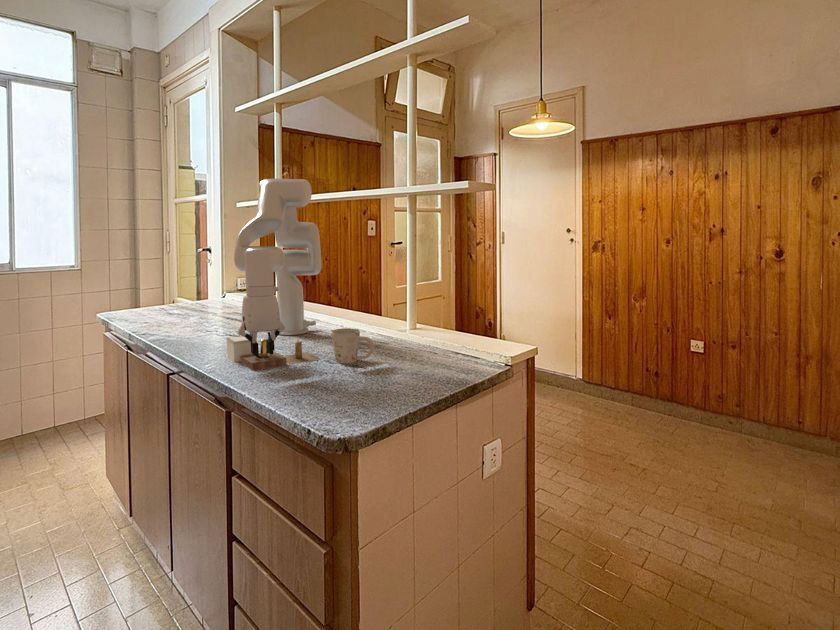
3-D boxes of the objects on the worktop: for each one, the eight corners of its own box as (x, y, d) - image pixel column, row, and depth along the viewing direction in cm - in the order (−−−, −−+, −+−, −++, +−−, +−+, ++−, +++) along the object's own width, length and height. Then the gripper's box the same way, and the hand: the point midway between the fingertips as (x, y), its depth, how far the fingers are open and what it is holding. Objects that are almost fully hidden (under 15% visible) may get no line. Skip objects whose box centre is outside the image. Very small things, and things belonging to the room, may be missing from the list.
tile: (307, 355, 164) (306, 337, 163) (321, 362, 156) (320, 342, 155) (276, 360, 158) (275, 341, 157) (290, 367, 150) (289, 347, 149)
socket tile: (273, 360, 157) (273, 351, 157) (286, 367, 149) (286, 357, 149) (240, 365, 151) (240, 355, 151) (252, 373, 143) (252, 363, 143)
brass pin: (265, 365, 152) (266, 338, 151) (268, 367, 150) (268, 339, 149) (259, 366, 151) (259, 339, 150) (261, 367, 149) (262, 340, 148)
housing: (248, 357, 161) (247, 335, 160) (256, 361, 156) (254, 339, 155) (227, 360, 157) (226, 338, 156) (234, 365, 152) (233, 341, 151)
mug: (333, 360, 158) (332, 328, 157) (374, 359, 159) (374, 328, 158) (330, 367, 150) (330, 334, 148) (374, 367, 151) (374, 333, 149)
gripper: (282, 288, 155) (285, 348, 158) (226, 292, 145) (229, 356, 148) (293, 291, 149) (295, 353, 152) (235, 295, 139) (238, 361, 142)
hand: (263, 353), depth 150 cm, fingers open, 3 cm apart
